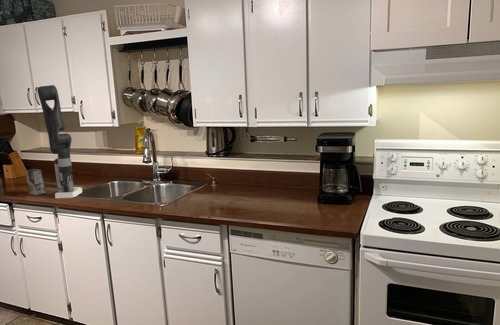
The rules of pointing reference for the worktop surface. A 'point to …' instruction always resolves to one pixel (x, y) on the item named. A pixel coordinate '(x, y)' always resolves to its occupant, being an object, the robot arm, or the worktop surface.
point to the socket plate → (69, 195)
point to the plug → (70, 187)
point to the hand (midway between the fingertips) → (68, 190)
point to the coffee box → (35, 181)
